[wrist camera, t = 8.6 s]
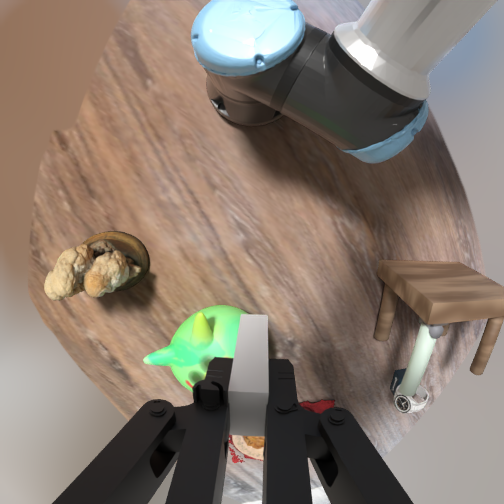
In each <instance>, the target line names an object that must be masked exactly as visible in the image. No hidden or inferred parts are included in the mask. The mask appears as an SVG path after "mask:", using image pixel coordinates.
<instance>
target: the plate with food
mask: <svg viewBox="0 0 504 504" xmlns="http://www.w3.org/2000/svg"><path fill="white" fill-rule="evenodd" d="M334 402H335V400H333V401H331V400H327V401H324V400H321V401H320V402H316V403H309V401H307V402H305V401H304V402H303V403H299V404H300V405H301V406H302V407H303V408H304V409H306V410H308V411H311V412H315V413H320V414H321V413H322V412H323V411H324V410H326V409H328V408H333V407H334V406H333V405H335V404H334ZM229 437H230V438H231V440H229V443H231V444H233V445H234V447H235V448H236V449H237V450H238V451H239V452H242V453H243V454H244V457H245V458H251V459H257V460H260V461H261V460H262V461H263V458H264V456H263V449H264V437H262V436H240V435H230V434H229ZM229 449H230V451H232V452H231V455H234V456H233V458H232V461H233V462H234V463H237V462H241V463H242V461H243V460H240V459H239V458H238V456H239V455H237V456H236V455H235V453H233V452H235V451H233V450H234V449H231V448H230V447H229ZM235 458H236V459H235ZM237 458H238V459H237ZM242 459H243V458H242ZM239 460H240V461H239ZM243 462H245V461H243Z"/></svg>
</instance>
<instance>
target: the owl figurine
mask: <svg viewBox="0 0 504 504" xmlns="http://www.w3.org/2000/svg"><path fill="white" fill-rule="evenodd" d="M148 266H149V259H148V254H147V250H146V248H145V247H144V245H143V244H142V242H141V241H140V240H139V239H137V238H136V237H134V236H132V235H130V234H127V233H125V232H118V231H108V232H103V233H99V234H96V235H94V236H92V237H90V238H88V239H87V240H86V241H84V242H83V243H82V244H81V245H80V246H78V247H72V248H69V249H67V250H65V251H64V252H63V253H62V254H61V255H60V257H59V258H58V260H57V264H56V266H55V268H54V270H52V271H50V272H49V274H48V276H47V278H46V281H45V284H44V288H45V292H46V294H47V296H48V297H49V298H50V299H52V300H54V301H55V300H59V301H60V300H63V298H65V297H72V296H73V295H75V294H78V293H79V292H82V291H84V290H86V292H87V293H88V295H89V296H91V297H93V298H97V297H101V296H103V295H104V293H105V292H107V293H111V292H113V291H121V290H125V289H128V288H130V287H132V286H134V285H135V284H137V283H138V282H139V281H140V280H141V279H142V278H143V277H144V275H145V273H146V271H147V269H148Z"/></svg>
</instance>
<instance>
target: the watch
mask: <svg viewBox="0 0 504 504" xmlns="http://www.w3.org/2000/svg"><path fill="white" fill-rule="evenodd" d="M406 369H407V368H406ZM406 369H400V370H395V372H394V376H393V380H392V383H391V386H390V389H391V391H392V393H393V395H394V405H395V407H396V409H397V410H398V411H399V412H401V413H413V412H416V411H420V410H422V409H423V408H424V407H425V405H426V403H427V400H428V398H429V394H428V392H427V390H426V389H425V388H424V387H423V386H421V385H419V386H418V389H417V391H416V394H418V395H419V396H420V397H421V398H422V397H423V399H425V401H424V402H421V403H417V401H415V400H414V399H413V398H412V396H404V395H402V394H401V393H400V392H399V387H400V385H401V382H402V380H403V377H404V374H405V372H406Z"/></svg>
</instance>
